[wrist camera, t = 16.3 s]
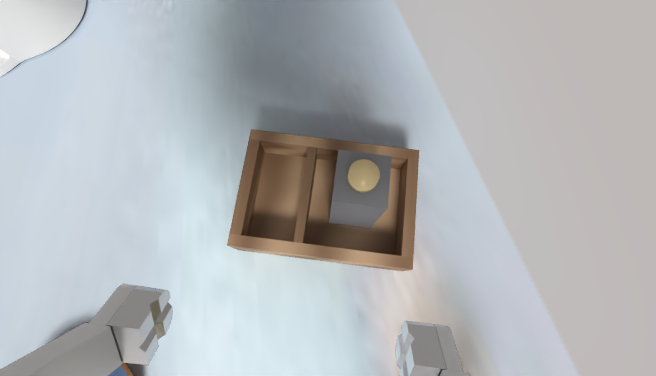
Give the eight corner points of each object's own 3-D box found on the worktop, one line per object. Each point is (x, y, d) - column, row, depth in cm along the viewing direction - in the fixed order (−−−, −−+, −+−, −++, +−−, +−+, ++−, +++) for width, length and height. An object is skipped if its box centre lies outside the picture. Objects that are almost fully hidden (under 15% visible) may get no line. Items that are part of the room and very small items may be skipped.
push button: (328, 223, 32) (332, 197, 23) (333, 184, 34) (339, 144, 24) (369, 228, 32) (390, 205, 23) (373, 189, 33) (394, 151, 24)
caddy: (238, 249, 33) (227, 245, 29) (258, 146, 36) (251, 129, 32) (401, 271, 32) (412, 269, 28) (408, 164, 35) (419, 150, 32)
